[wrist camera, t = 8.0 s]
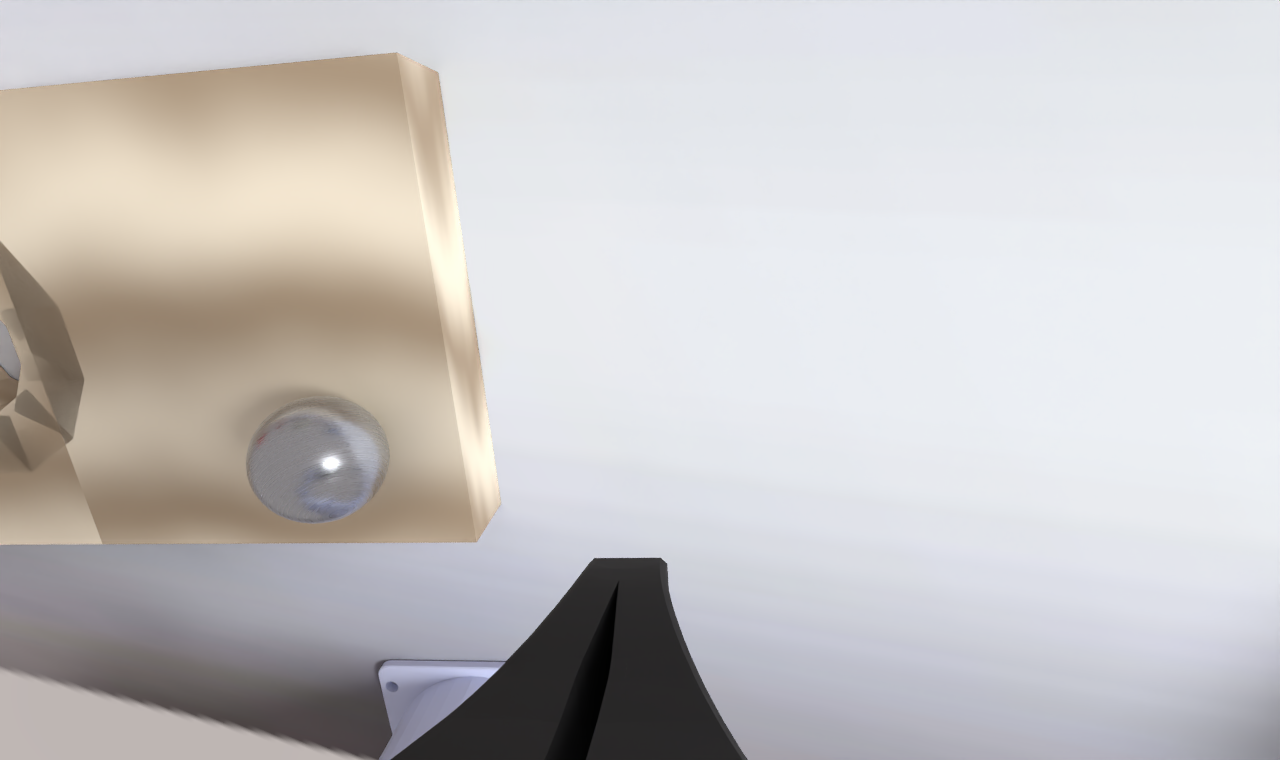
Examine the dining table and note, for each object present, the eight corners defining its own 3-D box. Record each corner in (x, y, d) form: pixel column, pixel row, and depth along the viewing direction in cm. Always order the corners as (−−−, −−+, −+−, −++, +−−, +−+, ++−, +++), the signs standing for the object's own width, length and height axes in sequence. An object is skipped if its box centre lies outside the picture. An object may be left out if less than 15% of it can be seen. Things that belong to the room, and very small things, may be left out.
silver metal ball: (340, 439, 19) (372, 535, 18) (215, 444, 17) (241, 558, 15) (389, 373, 18) (428, 472, 16) (259, 366, 15) (293, 486, 14)
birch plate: (501, 503, 21) (476, 542, 19) (-36, 510, 24) (-119, 545, 21) (438, 72, 17) (396, 52, 15) (-204, 130, 19) (-329, 121, 17)
